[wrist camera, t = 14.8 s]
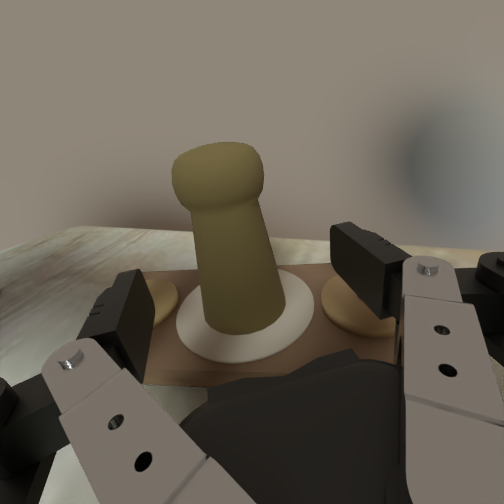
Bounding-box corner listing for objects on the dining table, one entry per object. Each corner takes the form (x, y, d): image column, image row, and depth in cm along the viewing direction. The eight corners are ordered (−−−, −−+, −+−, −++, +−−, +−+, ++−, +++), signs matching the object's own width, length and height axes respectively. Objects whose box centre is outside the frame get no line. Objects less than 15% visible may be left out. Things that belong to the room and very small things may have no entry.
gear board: (63, 380, 18) (41, 350, 17) (142, 284, 28) (132, 260, 27) (463, 398, 14) (477, 359, 12) (396, 275, 23) (400, 244, 22)
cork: (239, 350, 16) (193, 159, 11) (188, 309, 20) (137, 156, 15) (303, 299, 19) (291, 132, 14) (247, 272, 24) (222, 136, 18)
